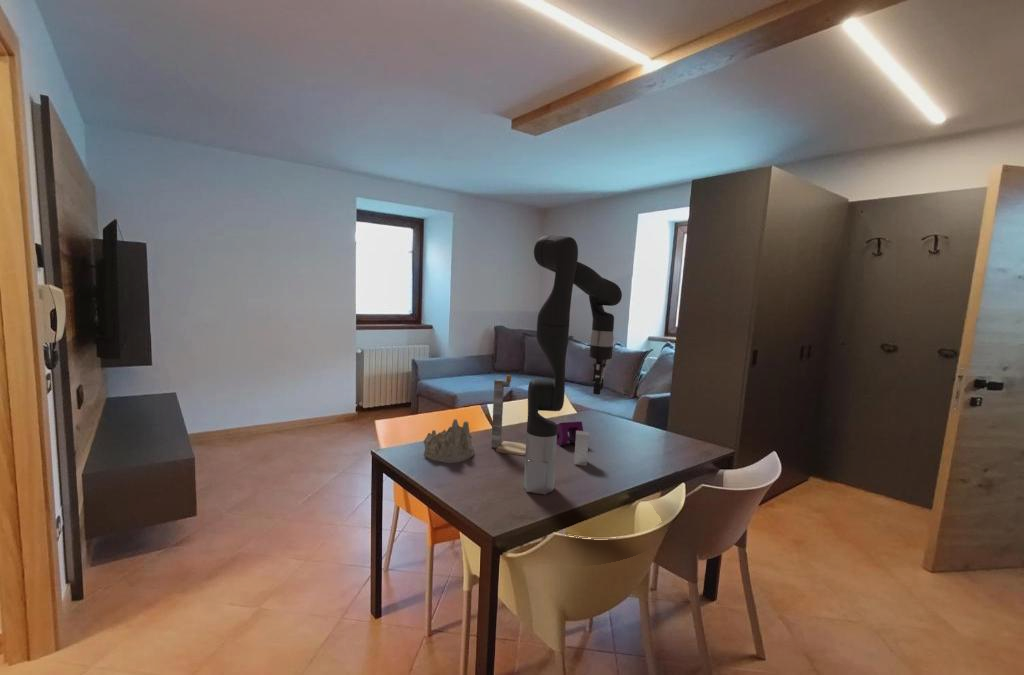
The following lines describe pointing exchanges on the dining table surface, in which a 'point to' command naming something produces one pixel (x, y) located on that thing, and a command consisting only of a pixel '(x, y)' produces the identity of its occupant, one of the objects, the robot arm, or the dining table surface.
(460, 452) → the gray sandcastle
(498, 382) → the keeper
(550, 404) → the robot arm
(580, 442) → the gray rectangular block
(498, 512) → the dining table surface
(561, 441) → the mounting bracket
